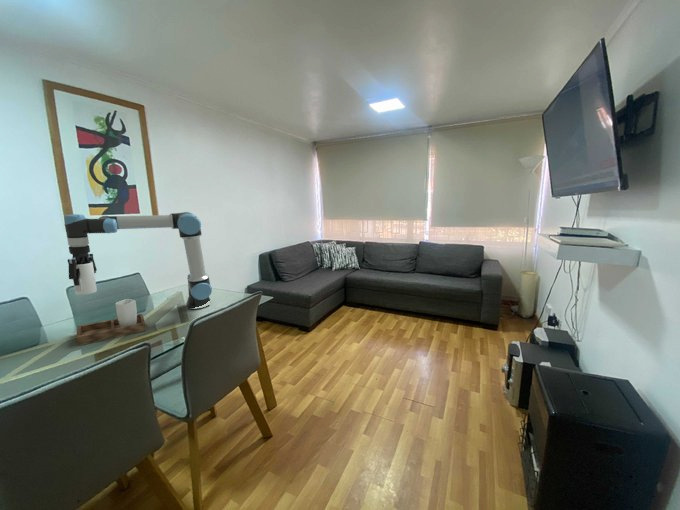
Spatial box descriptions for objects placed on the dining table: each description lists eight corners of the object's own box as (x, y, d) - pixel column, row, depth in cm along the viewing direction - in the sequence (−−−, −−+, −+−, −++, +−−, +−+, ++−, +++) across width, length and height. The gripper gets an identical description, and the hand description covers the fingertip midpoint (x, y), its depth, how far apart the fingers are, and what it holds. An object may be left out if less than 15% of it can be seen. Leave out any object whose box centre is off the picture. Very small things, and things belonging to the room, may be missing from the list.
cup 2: (116, 328, 147) (113, 303, 144) (129, 322, 154) (126, 298, 151) (127, 330, 146) (124, 305, 143) (139, 324, 153) (137, 300, 150)
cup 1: (71, 295, 135) (66, 264, 132) (81, 289, 143) (76, 260, 139) (91, 294, 137) (86, 264, 134) (100, 289, 145) (96, 260, 142)
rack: (143, 320, 160) (142, 313, 159) (145, 330, 149) (145, 322, 148) (79, 333, 142) (77, 326, 141) (77, 345, 131) (75, 337, 130)
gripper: (85, 241, 144) (91, 281, 149) (52, 249, 124) (60, 295, 129) (101, 241, 145) (107, 281, 150) (71, 249, 125) (78, 295, 130)
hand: (85, 287), depth 139 cm, fingers closed on cup 1, 8 cm apart
